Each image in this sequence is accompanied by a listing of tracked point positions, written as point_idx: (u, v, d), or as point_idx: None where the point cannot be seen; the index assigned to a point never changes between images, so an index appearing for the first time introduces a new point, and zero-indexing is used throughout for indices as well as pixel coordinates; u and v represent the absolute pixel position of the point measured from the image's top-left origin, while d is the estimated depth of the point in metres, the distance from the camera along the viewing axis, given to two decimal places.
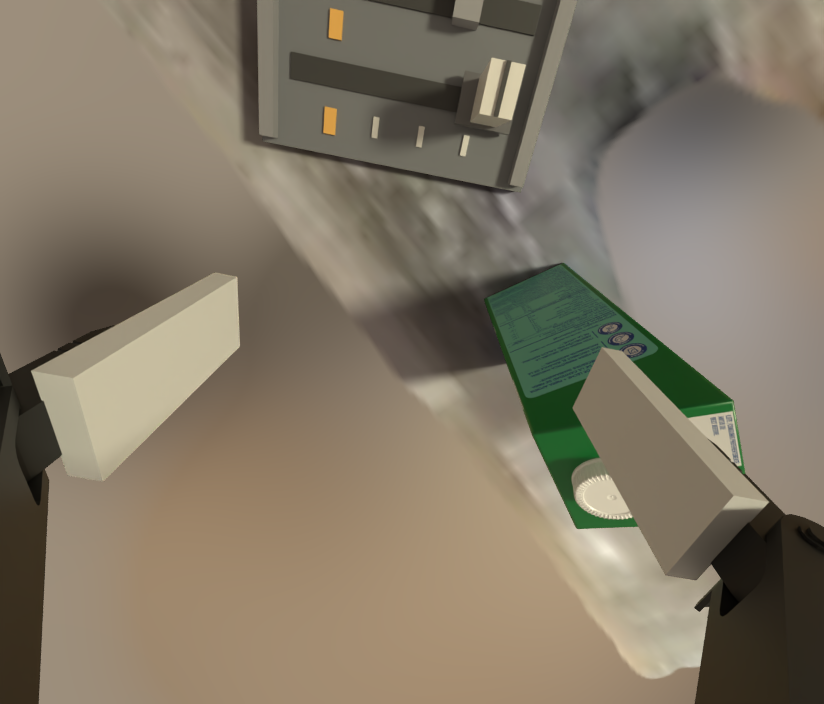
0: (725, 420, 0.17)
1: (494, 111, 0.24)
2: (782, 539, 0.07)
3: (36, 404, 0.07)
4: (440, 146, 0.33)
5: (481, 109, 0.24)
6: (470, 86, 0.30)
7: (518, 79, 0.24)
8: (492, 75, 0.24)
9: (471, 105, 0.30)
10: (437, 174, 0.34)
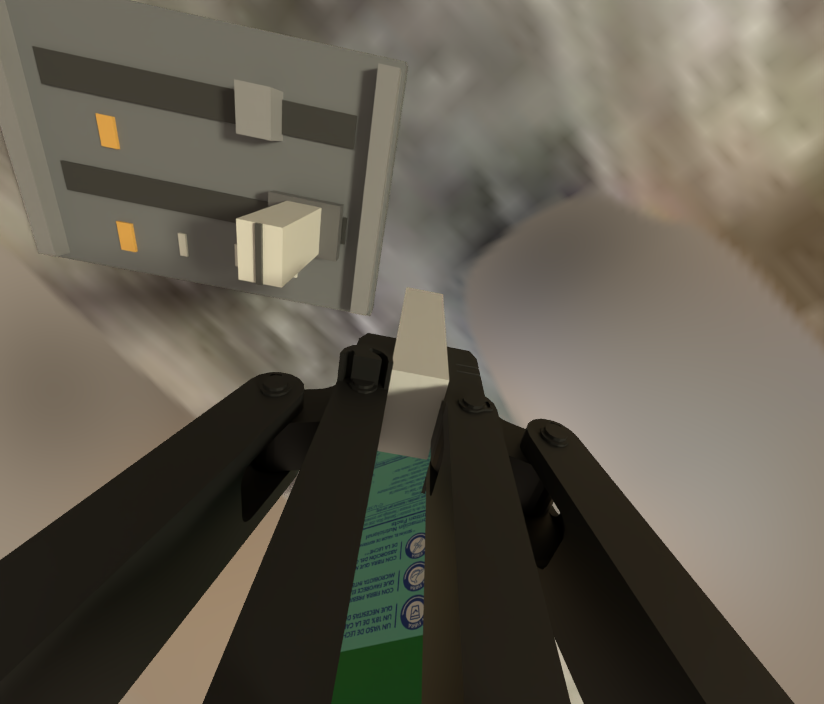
0: None
1: (256, 278, 0.19)
2: (448, 417, 0.08)
3: (386, 394, 0.09)
4: None
5: (240, 275, 0.19)
6: None
7: (277, 243, 0.18)
8: (243, 238, 0.18)
9: None
10: (268, 295, 0.28)
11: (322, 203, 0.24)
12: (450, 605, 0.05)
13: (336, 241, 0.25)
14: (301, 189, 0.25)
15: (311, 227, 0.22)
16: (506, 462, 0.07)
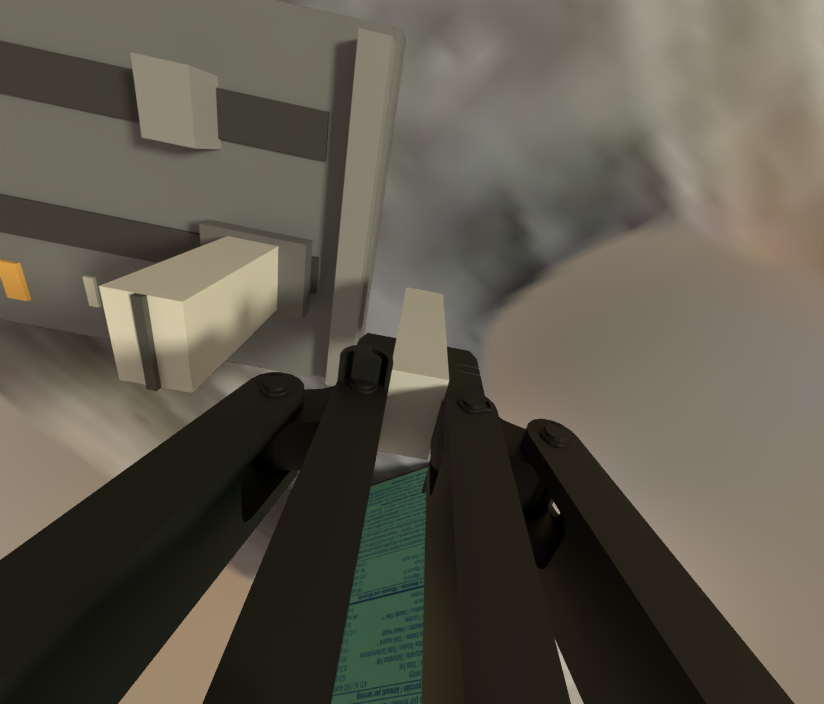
0: None
1: (147, 379, 0.11)
2: (448, 417, 0.08)
3: (386, 394, 0.09)
4: None
5: (121, 373, 0.11)
6: None
7: (176, 327, 0.10)
8: (117, 317, 0.10)
9: None
10: None
11: (279, 240, 0.16)
12: (450, 605, 0.05)
13: (302, 292, 0.17)
14: (253, 218, 0.17)
15: (258, 279, 0.15)
16: (506, 462, 0.07)
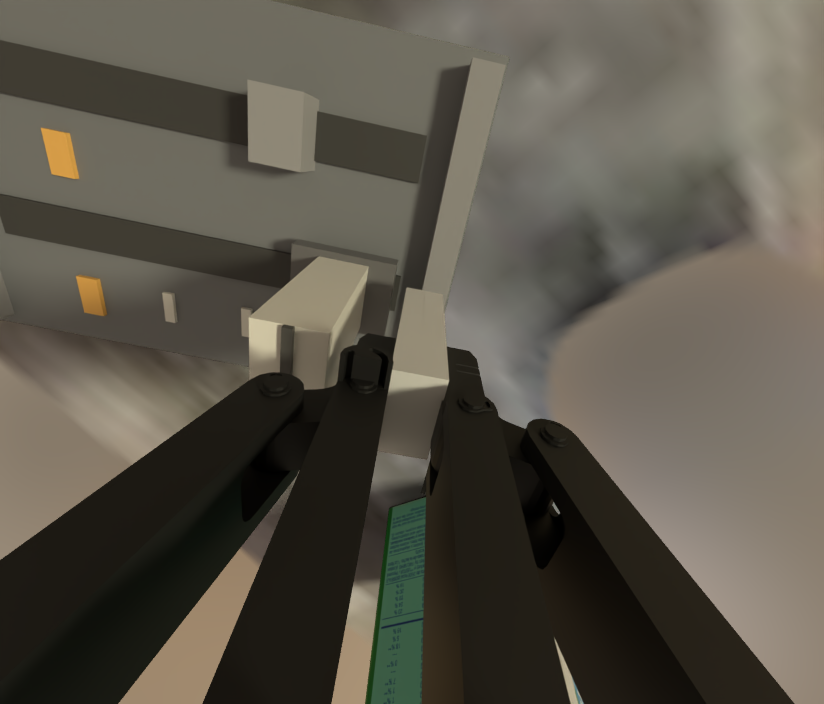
0: None
1: None
2: (448, 417, 0.08)
3: (386, 394, 0.09)
4: None
5: None
6: (305, 267, 0.16)
7: (318, 356, 0.10)
8: (260, 347, 0.10)
9: None
10: None
11: (370, 260, 0.16)
12: (450, 605, 0.05)
13: (386, 311, 0.17)
14: (339, 237, 0.17)
15: (357, 300, 0.15)
16: (506, 462, 0.07)
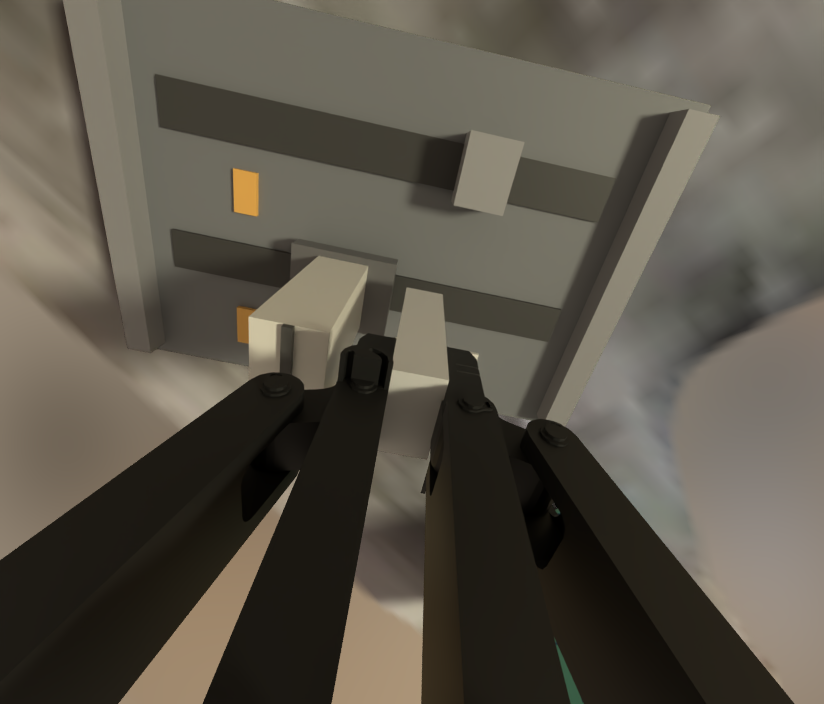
0: None
1: None
2: (448, 417, 0.08)
3: None
4: None
5: None
6: (305, 267, 0.16)
7: (318, 355, 0.10)
8: (260, 346, 0.10)
9: None
10: None
11: (370, 260, 0.16)
12: (450, 605, 0.05)
13: (386, 311, 0.17)
14: (505, 272, 0.18)
15: (357, 300, 0.15)
16: (506, 462, 0.07)
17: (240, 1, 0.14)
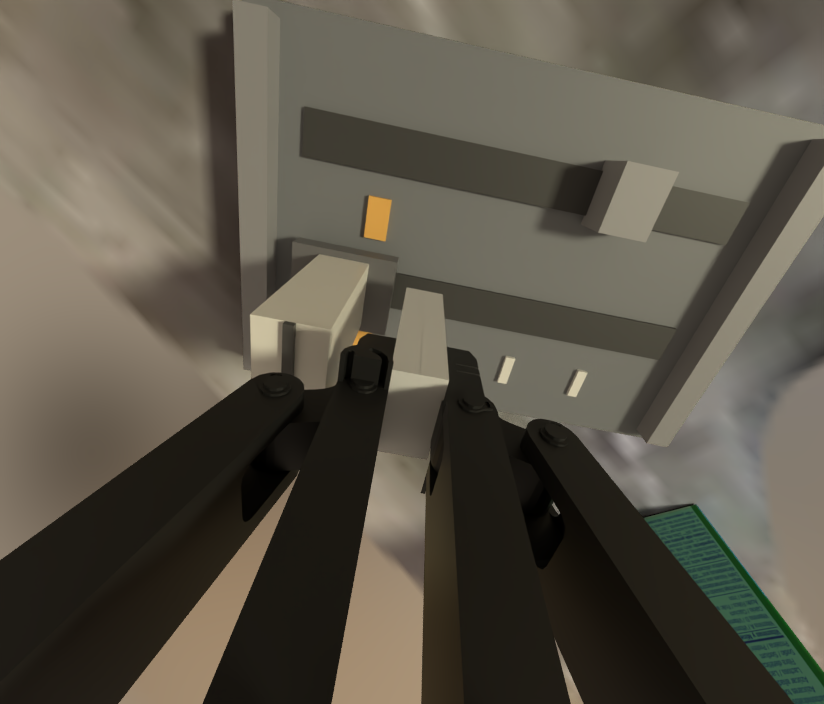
0: None
1: None
2: (448, 417, 0.08)
3: None
4: (536, 381, 0.21)
5: None
6: (306, 266, 0.17)
7: (319, 353, 0.11)
8: (261, 344, 0.10)
9: None
10: (526, 414, 0.22)
11: (370, 258, 0.16)
12: (450, 605, 0.05)
13: (387, 309, 0.17)
14: (625, 293, 0.18)
15: (358, 298, 0.15)
16: (506, 462, 0.07)
17: (398, 36, 0.14)
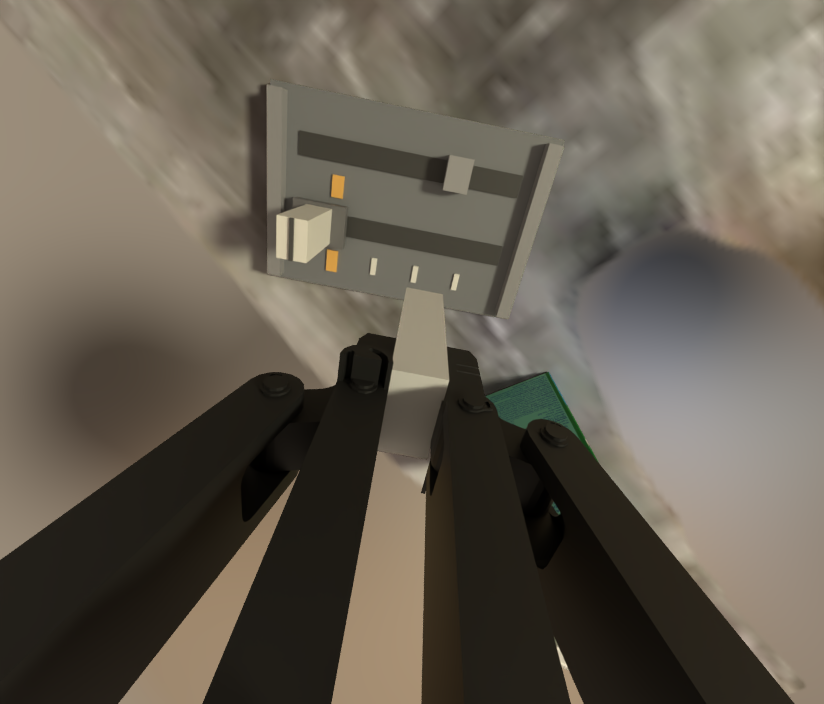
0: None
1: (288, 256, 0.27)
2: (448, 417, 0.08)
3: (386, 394, 0.09)
4: (433, 281, 0.36)
5: (277, 254, 0.27)
6: None
7: (304, 231, 0.26)
8: (280, 228, 0.26)
9: None
10: None
11: (332, 205, 0.32)
12: (450, 605, 0.05)
13: (343, 234, 0.33)
14: (472, 226, 0.34)
15: (325, 223, 0.31)
16: (506, 462, 0.07)
17: (343, 97, 0.30)
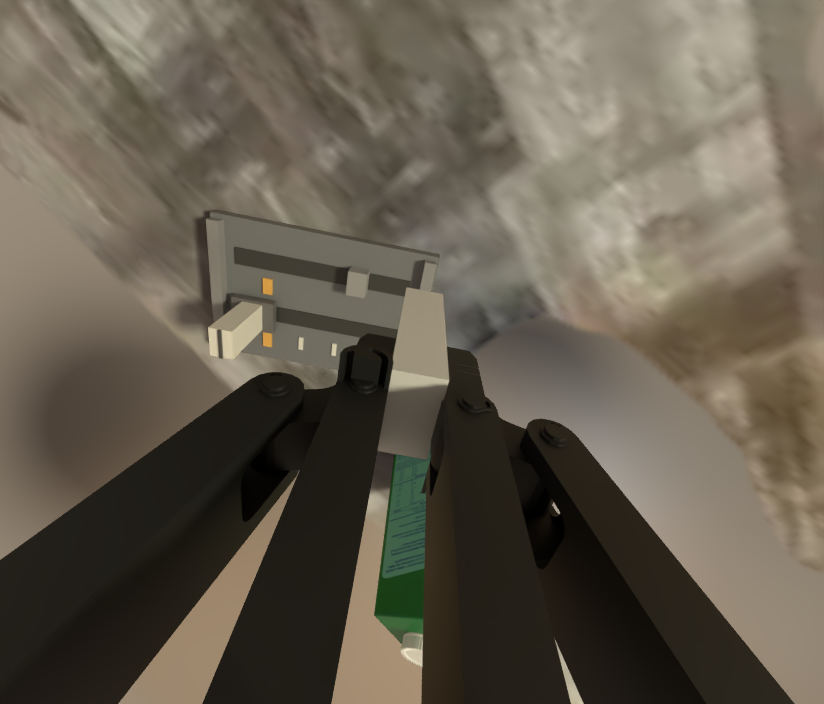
0: None
1: (219, 355, 0.36)
2: (448, 417, 0.08)
3: (386, 394, 0.09)
4: None
5: (211, 353, 0.36)
6: (237, 305, 0.41)
7: (229, 338, 0.35)
8: (212, 336, 0.35)
9: None
10: None
11: (262, 302, 0.41)
12: (450, 605, 0.05)
13: (272, 323, 0.42)
14: (375, 315, 0.42)
15: (254, 319, 0.39)
16: (506, 462, 0.07)
17: (266, 225, 0.38)
